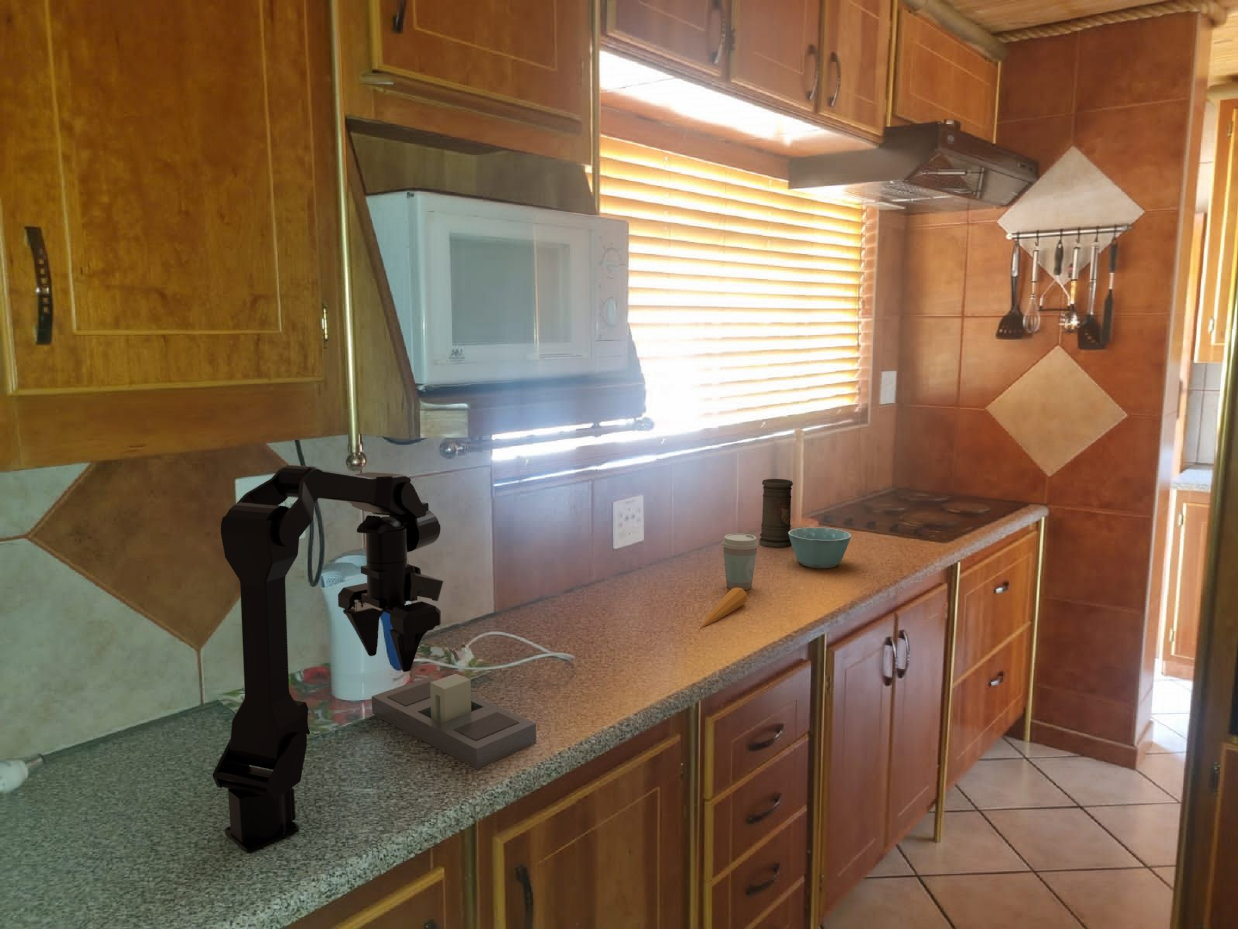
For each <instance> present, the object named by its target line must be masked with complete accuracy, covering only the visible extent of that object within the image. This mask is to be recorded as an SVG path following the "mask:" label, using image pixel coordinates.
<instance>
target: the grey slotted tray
mask: <svg viewBox="0 0 1238 929" xmlns="http://www.w3.org/2000/svg"><path fill="white" fill-rule="evenodd" d="M436 680H438V679H436V678H434V677H432V676H427V677H424V678H422V679H421V678H420V679H418V680H415V681H413V682H410V683H407V684H404V685H401V686H397V687H395V688H392V689H389V690H386V691H383V692H380V693H377V694H373V695H371V713H373V714H374V715H373V714H372V715H373V716H375V717H377V718H379V719H381V720H383V721H384V722H386V723H387V724H390V725H392V726H394V727H395V728H398V729H399V730H401V731H403V732H405V733H407V734H409V735H411V736H413V737H415V738H417V739H418V740H421V741H422V742H423V743H426V744H427V745H429V746H432V747H434V748H435V749H437V750H438V751H441V752H442V753H445V754H447V755H449V756H450V757H453V758H455V759H456V760H458V761H460V762H462V763H463V764H466V765H468V766H470V767H472V768H474V769H475V770H478V769H481V768H483V767H485V766H488V765H490V764H492V763H494V762H496V761H499V760H501V759H503V758H505V757H507V756H510V755H512V754H514V753H517V752H519V751H521V750H523V749H525V748H527V747H530V746H532V745H534V744H536V743H537V723H536V722H534V721H531V720H529V719H527V718H525V717H522V716H521V715H518V714H516V713H514V712H511V711H509V710H508V709H504V708H503V707H500V706H498V705H496V704H493V703H490V702H489V701H487V700H484V699H481V698H479V697H478V696H475V695H473V694H471V712H470V713H467V714H465V715H462V716H460V717H457V718H455V719H452V720H449V721H447V722H444V723H442V724H441V723H439V722H437V721H435V720H433V719H431V698H430V682H433V681H436Z"/></svg>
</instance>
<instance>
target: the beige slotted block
mask: <svg viewBox="0 0 1238 929" xmlns="http://www.w3.org/2000/svg"><path fill="white" fill-rule="evenodd" d="M471 683H472V682H471V679H469V678H467V677H464V676H462V675H460V674H458V673H454V674H451V675H448V676H444V677H442V678H439V679H437V680H436V681H433V682H430V698H431V719H433V720H435V721H437V722H439V723H441V724H442V723H444V722H447V721H449V720H452V719H455V718H457V717H460V716H462V715H465V714H467V713H470V712H471V695H472V692H471V691H472V688H471V687H472V686H471V685H472V684H471Z"/></svg>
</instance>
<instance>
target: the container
mask: <svg viewBox="0 0 1238 929" xmlns="http://www.w3.org/2000/svg"><path fill="white" fill-rule="evenodd" d="M761 485H762V488H763V492H762V493H763V494H762V516H761V517H762V518H761V525H760V527H761V531H760V532H761V533H760V534H759V536H760V538H759V540H758V543H759V545H761V546H764V547H769V548H786V547H787V548H788V547H790V546H792V544H791V541H790V538H789V534H788V532H789V531H791V527H792V525H791V514H792V513H791V512H792V487H793V485H794V482H793V480H791V479H786V478H785V479H784V478H767V479H766V478H765V479H763V480H762V482H761Z"/></svg>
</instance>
